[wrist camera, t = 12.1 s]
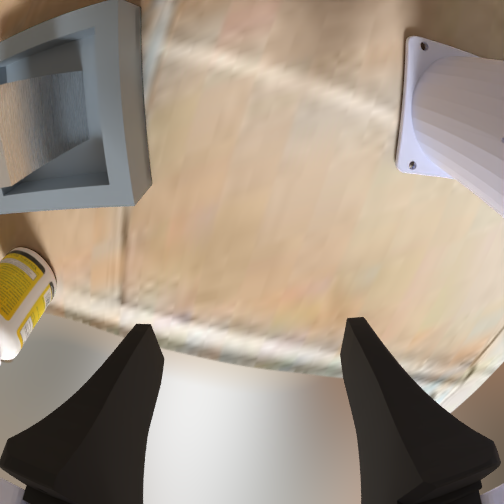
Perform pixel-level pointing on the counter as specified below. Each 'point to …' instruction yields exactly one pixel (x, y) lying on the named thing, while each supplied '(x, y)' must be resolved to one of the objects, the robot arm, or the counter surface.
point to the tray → (87, 108)
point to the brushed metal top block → (40, 122)
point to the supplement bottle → (22, 297)
